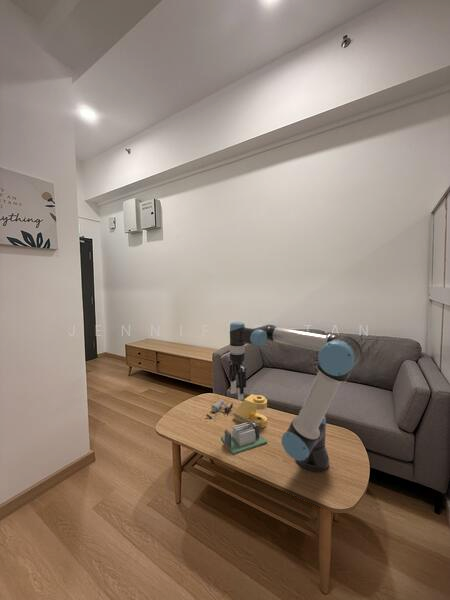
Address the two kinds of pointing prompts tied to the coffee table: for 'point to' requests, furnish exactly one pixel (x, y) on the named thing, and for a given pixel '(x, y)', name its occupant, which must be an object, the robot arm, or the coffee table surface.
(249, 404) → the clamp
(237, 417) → the strap
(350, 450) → the coffee table surface
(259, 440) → the heatsink base
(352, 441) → the coffee table surface
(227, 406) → the clip-on lamp
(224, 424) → the coffee table surface
